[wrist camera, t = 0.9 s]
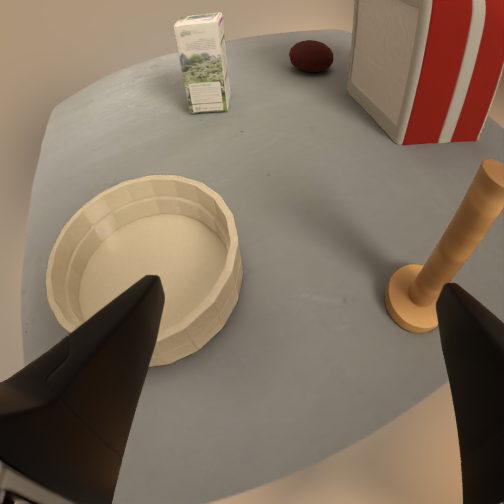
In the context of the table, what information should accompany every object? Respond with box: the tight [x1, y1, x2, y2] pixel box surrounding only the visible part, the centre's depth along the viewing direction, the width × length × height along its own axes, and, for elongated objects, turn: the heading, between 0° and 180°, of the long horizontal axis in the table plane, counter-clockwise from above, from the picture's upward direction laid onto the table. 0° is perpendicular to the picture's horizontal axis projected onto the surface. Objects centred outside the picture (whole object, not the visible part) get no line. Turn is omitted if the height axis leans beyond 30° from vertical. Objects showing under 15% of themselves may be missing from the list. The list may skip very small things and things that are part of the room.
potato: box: [289, 40, 333, 72], centre depth 49 cm, size 7×8×6 cm
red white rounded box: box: [347, 0, 504, 145], centre depth 31 cm, size 16×18×27 cm
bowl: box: [46, 175, 243, 367], centre depth 25 cm, size 16×16×5 cm
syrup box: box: [174, 13, 231, 114], centre depth 38 cm, size 6×6×14 cm
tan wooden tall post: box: [385, 159, 504, 333], centre depth 19 cm, size 6×6×15 cm
